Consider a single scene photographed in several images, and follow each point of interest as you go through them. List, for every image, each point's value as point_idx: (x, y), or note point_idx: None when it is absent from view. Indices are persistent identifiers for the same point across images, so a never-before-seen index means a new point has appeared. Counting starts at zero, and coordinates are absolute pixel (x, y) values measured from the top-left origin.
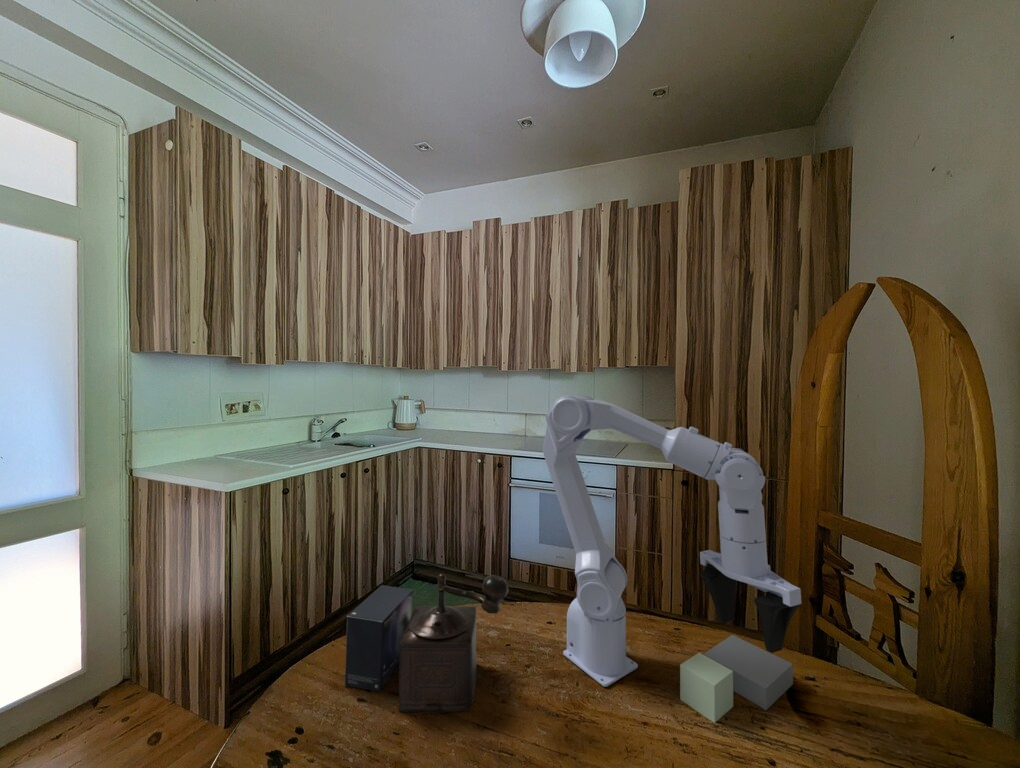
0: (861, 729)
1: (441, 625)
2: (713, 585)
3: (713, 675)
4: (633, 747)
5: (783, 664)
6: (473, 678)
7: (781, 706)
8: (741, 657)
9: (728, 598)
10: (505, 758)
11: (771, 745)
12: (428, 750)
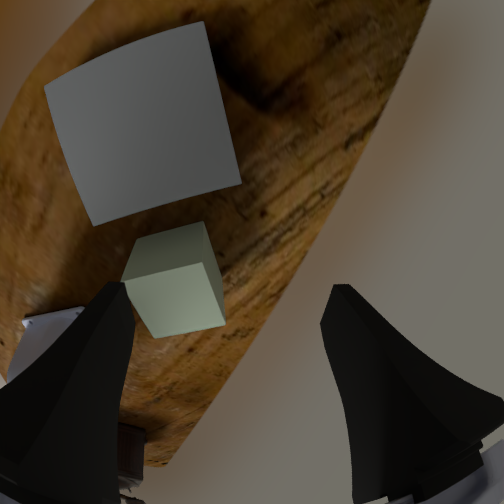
0: (348, 46)
1: (128, 488)
2: (117, 475)
3: (200, 308)
4: (218, 370)
5: (193, 47)
6: (125, 437)
7: (242, 125)
8: (125, 139)
9: (96, 370)
10: (195, 425)
11: (293, 231)
12: (176, 442)
